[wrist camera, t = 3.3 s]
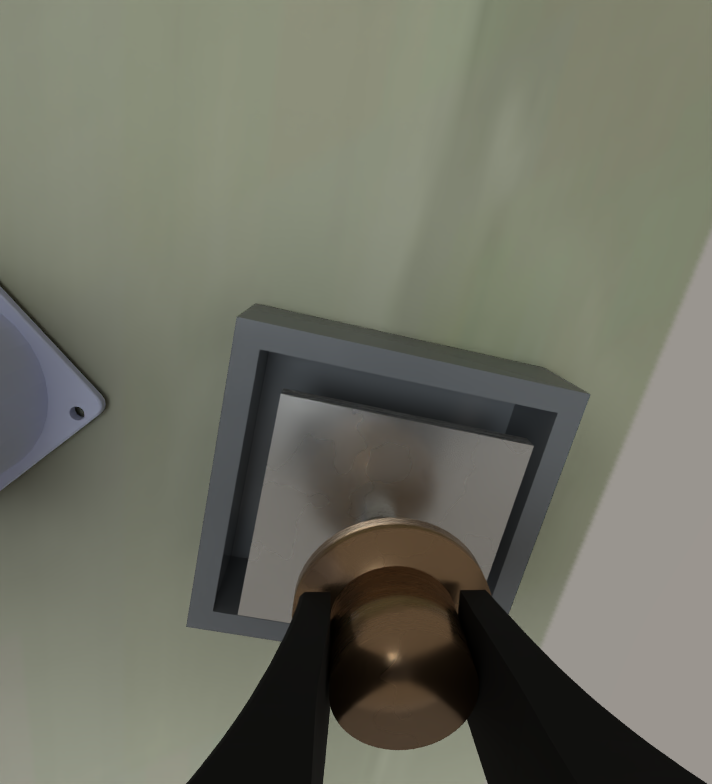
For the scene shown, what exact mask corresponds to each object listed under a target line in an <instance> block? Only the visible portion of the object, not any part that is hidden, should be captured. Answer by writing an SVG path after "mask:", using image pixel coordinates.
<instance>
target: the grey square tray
mask: <svg viewBox="0 0 712 784" xmlns="http://www.w3.org/2000/svg"><path fill="white" fill-rule="evenodd" d="M283 388H285V389H290V390H295V391H300V392H304V393H309V394H314V395H319V396H324V397H329V398H333V399H338V400H343V401H348V402H353V403H358V404H362V405H367V406H372V407H377V408H382V409H387V410H391V411H396V412H401V413H406V414H411V415H416V416H420V417H425V418H430V419H435V420H440V421H445V422H449V423H454V424H459V425H464V426H469V427H474V428H478V429H483V430H488V431H493V432H498V433H503V434H507V435H512V436H517V437H522V438H527V439H528V440H529V441H530V442H531V443H532V444H533V445H534V447H533V450H532V453H531V456H530V459H529V462H528V464H527V467H526V470H525V473H524V476H523V479H522V482H521V484H520V487H519V490H518V493H517V496H516V499H515V502H514V504H513V507H512V510H511V513H510V516H509V519H508V521H507V524H506V527H505V530H504V533H503V536H502V539H501V541H500V544H499V547H498V550H497V553H496V556H495V559H494V561H493V564H492V567H491V570H490V573H489V576H488V578H487V584H488V587H489V589H490V592H491V596H492V597H493V598H494V599H495V600H496V602H497V603H498V604H499V605H500V606H501V607H502V608H503V609H504V610H505V612H506V613H507V614H509V611H510V609H511V606H512V603H513V601H514V598H515V595H516V593H517V590H518V587H519V585H520V582H521V579H522V577H523V574H524V571H525V569H526V566H527V563H528V560H529V558H530V555H531V552H532V550H533V547H534V544H535V542H536V539H537V536H538V534H539V531H540V528H541V526H542V523H543V520H544V518H545V515H546V512H547V510H548V507H549V504H550V501H551V499H552V496H553V493H554V491H555V488H556V485H557V483H558V480H559V477H560V475H561V472H562V469H563V467H564V464H565V461H566V459H567V456H568V453H569V450H570V448H571V445H572V442H573V440H574V437H575V434H576V432H577V429H578V426H579V424H580V421H581V418H582V416H583V413H584V410H585V408H586V405H587V402H588V400H589V397H590V394H589V393H587V392H586V391H584V390H582V389H580V388H579V387H577V386H575V385H573V384H572V383H570V382H568V381H567V380H565V379H563V378H561V377H560V376H558V375H556V374H554V373H553V372H551V371H549V370H547V369H546V368H543V367H538V366H534V365H529V364H525V363H520V362H516V361H511V360H507V359H502V358H498V357H494V356H489V355H485V354H480V353H476V352H471V351H467V350H462V349H458V348H453V347H449V346H444V345H440V344H435V343H431V342H426V341H422V340H417V339H413V338H408V337H404V336H399V335H395V334H390V333H386V332H381V331H377V330H372V329H368V328H363V327H359V326H354V325H350V324H345V323H341V322H336V321H332V320H328V319H323V318H319V317H314V316H310V315H305V314H301V313H296V312H292V311H287V310H283V309H278V308H274V307H269V306H265V305H260V304H254V305H253V306H251V307H250V308H248V309H247V310H246V311H244V312H243V313H241V314H240V315H239V316H237V319H236V325H235V331H234V337H233V343H232V349H231V356H230V362H229V368H228V374H227V380H226V386H225V392H224V399H223V405H222V411H221V417H220V423H219V429H218V435H217V441H216V448H215V454H214V460H213V466H212V472H211V478H210V484H209V490H208V497H207V503H206V509H205V515H204V521H203V527H202V533H201V540H200V546H199V552H198V558H197V564H196V570H195V576H194V582H193V589H192V595H191V601H190V607H189V613H188V619H187V625H186V627H191V628H198V629H204V630H211V631H217V632H224V633H230V634H237V635H243V636H249V637H256V638H262V639H269V640H275V641H282V640H283V638H284V636H285V634H286V631H287V629H288V627H289V625H290V623H285V622H279V621H273V620H267V619H260V618H254V617H248V616H241V615H238V610H239V605H240V600H241V595H242V589H243V584H244V579H245V574H246V569H247V564H248V559H249V554H250V548H251V543H252V538H253V533H254V528H255V523H256V518H257V513H258V508H259V502H260V497H261V492H262V487H263V482H264V477H265V472H266V467H267V462H268V456H269V451H270V446H271V441H272V436H273V431H274V426H275V421H276V415H277V410H278V405H279V400H280V395H281V392H282V389H283Z"/></svg>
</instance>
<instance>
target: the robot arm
mask: <svg viewBox="0 0 712 784" xmlns="http://www.w3.org/2000/svg"><path fill="white" fill-rule="evenodd" d="M105 406H106V403H105V399H104V398H103V396H102V395H101V394H100V392H99V391H98V390H97V389H96V388H95V387H94V386H93V385H92V384H91V383H90V382H89V381H88V380H87V379H86V377H85V376H84V375H83V374H82V373H81V372H80V371H79V370H78V369H77V368H76V367H75V366H74V365H73V364H72V362H71V361H70V360H69V359H68V358H67V357H66V356H65V355H64V354H63V353H62V352H61V351H60V350H59V349H58V347H57V346H56V345H55V344H54V343H53V342H52V341H51V340H50V339H49V338H48V337H47V336H46V335H45V334H44V332H43V331H42V330H41V329H40V328H39V327H38V326H37V325H36V324H35V323H34V322H33V321H32V320H31V319H30V317H29V316H28V315H27V314H26V313H25V312H24V311H23V310H22V309H21V308H20V307H19V306H18V305H17V304H16V303H15V301H14V300H13V299H12V298H11V297H10V296H9V295H8V294H7V293H6V292H5V291H4V290H3V289H2V288H1V286H0V491H1V490H2V489H3V488H5V487H6V486H7V485H9V484H10V483H11V482H13V481H14V480H15V479H16V478H18V477H19V476H20V475H22V474H23V473H24V472H26V471H27V470H28V469H29V468H31V467H32V466H33V465H35V464H36V463H37V462H39V461H40V460H41V459H42V458H44V457H45V456H46V455H48V454H49V453H50V452H52V451H53V450H54V449H55V448H57V447H58V446H59V445H61V444H62V443H63V442H65V441H66V440H67V439H68V438H70V437H71V436H72V435H74V434H75V433H76V432H78V431H79V430H80V429H81V428H83V427H84V426H85V425H87V424H88V423H89V422H91V421H92V420H93V419H94V418H96V417H97V416H98V415H100V414H101V413H102V412H103V411H104V409H105ZM75 407H80V408H81V409H83V411H84V417H81V416H79V415H77V413H76V412H75ZM458 617H459V620H460V623H461V626H462V629H463V632H464V635H465V638H466V641H467V644H468V647H469V650H470V653H471V656H472V659H473V662H474V665H475V668H476V671H477V675H478V680H479V692H478V698H477V701H476V704H475V706H474V709H473V711H472V712H471V714H470V715H469V717H468V718H467V721H468V724H469V727H470V730H471V733H472V736H473V739H474V743H475V746H476V749H477V752H478V755H479V758H480V761H481V764H482V767H483V770H484V773H485V777H486V780H487V783H488V784H707V783H705V782H704V781H702V780H701V779H699V778H698V777H696V776H695V775H693V774H692V773H690V772H689V771H687V770H686V769H684V768H683V767H682V766H680V765H679V764H677V763H676V762H675V761H673V760H672V759H670V758H669V757H667V756H666V755H665V754H663V753H662V752H660V751H659V750H658V749H656V748H655V747H653V746H652V745H651V744H649V743H648V742H647V741H645V740H644V739H643V738H641V737H640V736H639V735H637V734H636V733H635V732H633V731H632V730H631V729H630V728H628V727H627V726H626V725H625V724H623V723H622V722H621V721H620V720H618V719H617V718H616V717H615V716H613V715H612V714H611V713H610V712H608V711H607V710H606V709H605V708H604V707H602V706H601V705H600V704H599V703H597V702H596V701H595V700H594V699H593V698H592V697H591V696H589V695H588V694H587V693H586V692H585V691H584V690H583V689H582V688H581V687H580V686H578V685H577V684H576V683H575V682H574V681H573V680H572V679H571V678H570V677H569V676H567V675H566V674H565V673H564V672H563V671H562V670H561V669H560V668H559V667H558V666H557V665H556V664H555V663H554V662H553V661H552V660H551V659H550V658H549V657H548V656H547V655H546V654H545V653H544V652H543V651H542V650H541V649H540V648H539V647H538V646H537V645H536V644H535V643H534V642H533V641H532V640H531V639H530V637H529V636H528V635H527V634H526V633H525V632H524V631H523V630H522V629H521V628H520V627H519V626H518V625H517V624H516V622H515V621H514V620H513V619H512V618H511V617H510V616H509V615H508V614H507V613H506V612H505V610H504V609H503V608H502V607H501V606H500V605H499V604H498V603H497V602H496V600H495V599H494V598H493V597H492V596H491V595H490V594H489V593H488V592H487V591H486V590H460V594H459V606H458ZM330 621H331V592H304V593H303V594H302V595H301V596H300V597H299V601H298V604H297V607H296V610H295V613H294V615H293V618H292V620H291V623H290V625H289V627H288V629H287V631H286V634H285V636H284V638H283V640H282V642H281V644H280V646H279V648H278V650H277V652H276V654H275V656H274V658H273V660H272V661H271V663H270V665H269V667H268V669H267V670H266V672H265V674H264V675H263V677H262V679H261V680H260V682H259V684H258V686H257V687H256V689H255V691H254V692H253V694H252V696H251V697H250V699H249V700H248V702H247V703H246V705H245V706H244V708H243V710H242V711H241V713H240V714H239V715H238V717H237V718H236V720H235V721H234V723H233V724H232V726H231V727H230V728H229V730H228V731H227V733H226V734H225V735H224V737H223V738H222V739H221V741H220V742H219V743H218V745H217V746H216V747H215V749H214V750H213V751H212V752H211V754H210V755H209V756H208V758H207V759H206V760H205V761H204V763H203V764H202V765H201V767H200V768H199V769H198V770H197V771H196V773H195V774H194V775H193V776H192V778H191V779H190V780H189V781H188V782H187V783H186V784H323V776H324V766H325V756H326V745H327V735H328V725H329V714H330V702H329V663H330Z"/></svg>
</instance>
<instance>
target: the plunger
mask: <svg viewBox="0 0 712 784" xmlns="http://www.w3.org/2000/svg"><path fill="white" fill-rule="evenodd" d="M533 447H534V445H533V444H532V443H531V442H530V441H529V440H528V439H527V438H522V437H517V436H512V435H507V434H503V433H498V432H493V431H488V430H483V429H478V428H474V427H469V426H464V425H459V424H454V423H449V422H445V421H440V420H435V419H430V418H425V417H420V416H416V415H411V414H406V413H401V412H396V411H391V410H387V409H382V408H377V407H372V406H367V405H362V404H358V403H353V402H348V401H343V400H338V399H333V398H329V397H324V396H319V395H314V394H309V393H304V392H300V391H295V390H290V389H285V388H283V389H282V392H281V395H280V400H279V405H278V410H277V415H276V421H275V426H274V431H273V436H272V441H271V446H270V451H269V456H268V462H267V467H266V472H265V477H264V482H263V487H262V492H261V497H260V502H259V508H258V513H257V518H256V523H255V528H254V533H253V538H252V543H251V548H250V554H249V559H248V564H247V569H246V574H245V579H244V584H243V589H242V595H241V600H240V605H239V610H238V615H241V616H248V617H254V618H260V619H267V620H273V621H279V622H285V623H291V620H292V618H293V615H294V613H295V610H296V607H297V604H298V601H299V597H300V596H301V595H302V594H303V593H304V592H331V621H330V663H329V702H330V707H331V710H332V713H333V715H334V717H335V719H336V720H337V722H338V723H339V724H340V726H341V727H342V728H343V729H344V730H345V731H346V732H347V733H349V734H350V735H351V736H352V737H354V738H356V739H357V740H359V741H361V742H363V743H365V744H368V745H371V746H374V747H377V748H383V749H390V750H408V749H415V748H420V747H424V746H427V745H430V744H433V743H435V742H438V741H440V740H442V739H444V738H445V737H447V736H449V735H450V734H452V733H453V732H454V731H456V730H457V729H458V728H459V727H460V726H461V725H462V724H463V723H464V722H465V721H466V720H467V718H468V717H469V715H470V714H471V712H472V711H473V709H474V706H475V704H476V701H477V698H478V692H479V680H478V675H477V671H476V668H475V665H474V662H473V659H472V656H471V653H470V650H469V647H468V644H467V641H466V638H465V635H464V632H463V629H462V626H461V623H460V620H459V617H458V606H459V594H460V590H486V591H487V592H488V593H489V594H490V595H491V592H490V589H489V587H488V584H487V578H488V576H489V573H490V570H491V567H492V564H493V561H494V559H495V556H496V553H497V550H498V547H499V544H500V541H501V539H502V536H503V533H504V530H505V527H506V524H507V521H508V519H509V516H510V513H511V510H512V507H513V504H514V502H515V499H516V496H517V493H518V490H519V487H520V484H521V482H522V479H523V476H524V473H525V470H526V467H527V464H528V462H529V459H530V456H531V453H532V450H533Z"/></svg>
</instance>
